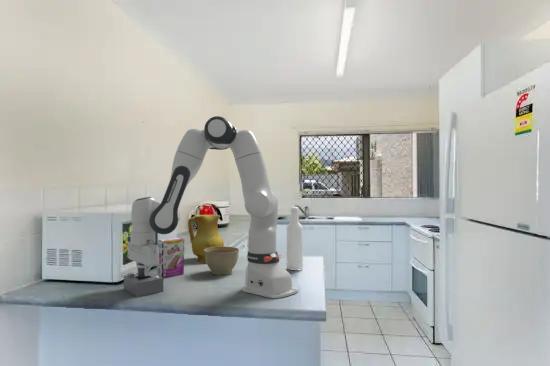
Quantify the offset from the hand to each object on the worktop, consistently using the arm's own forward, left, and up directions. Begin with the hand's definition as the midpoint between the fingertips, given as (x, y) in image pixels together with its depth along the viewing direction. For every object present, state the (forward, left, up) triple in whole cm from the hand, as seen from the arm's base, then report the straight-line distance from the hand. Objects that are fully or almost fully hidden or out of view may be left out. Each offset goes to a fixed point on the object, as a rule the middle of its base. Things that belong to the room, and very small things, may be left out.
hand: (143, 274), depth 138 cm
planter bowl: (+3, -38, -6) cm, 39 cm away
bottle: (-15, -68, -6) cm, 70 cm away
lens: (0, 0, -4) cm, 4 cm away
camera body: (0, 0, -6) cm, 6 cm away
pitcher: (+33, -48, -6) cm, 59 cm away
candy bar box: (+14, -18, -6) cm, 24 cm away
